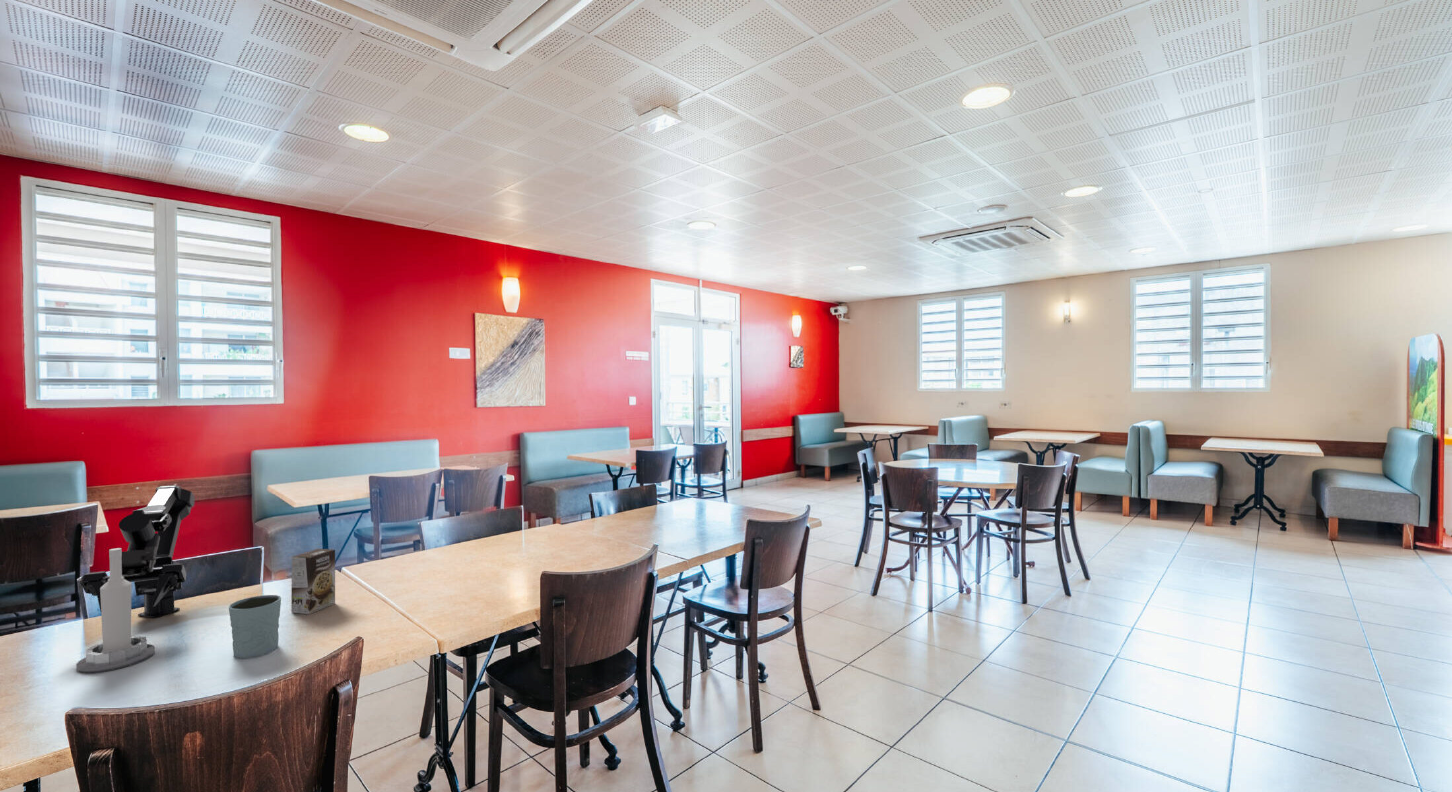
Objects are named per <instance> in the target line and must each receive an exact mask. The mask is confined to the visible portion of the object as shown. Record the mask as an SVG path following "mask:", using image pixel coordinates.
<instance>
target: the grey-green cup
mask: <svg viewBox="0 0 1452 792" xmlns="http://www.w3.org/2000/svg"><path fill="white" fill-rule="evenodd" d="M281 605H282V597H281V596H280V595H277V594H264V595H257V596H251V597H246V598H242V599H240V600H237V601H234V602H233V603H231V604H229V605H228V611H229V613H228V614H229V617H230V618H229V621H230V628H231V637H232V643H231V644H232V652H233V654H232V655H233V657H234V658H237V659H253V658H258V657H263V656H265V655H267V654H268V655H269V654H270V653H272V652H273V651H275V650H276V649H278V646H279V639H280V638H279V636H280V635H279V628H280V623H279V622H280V621H279V619H280V616H281V607H282V606H281Z"/></svg>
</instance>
